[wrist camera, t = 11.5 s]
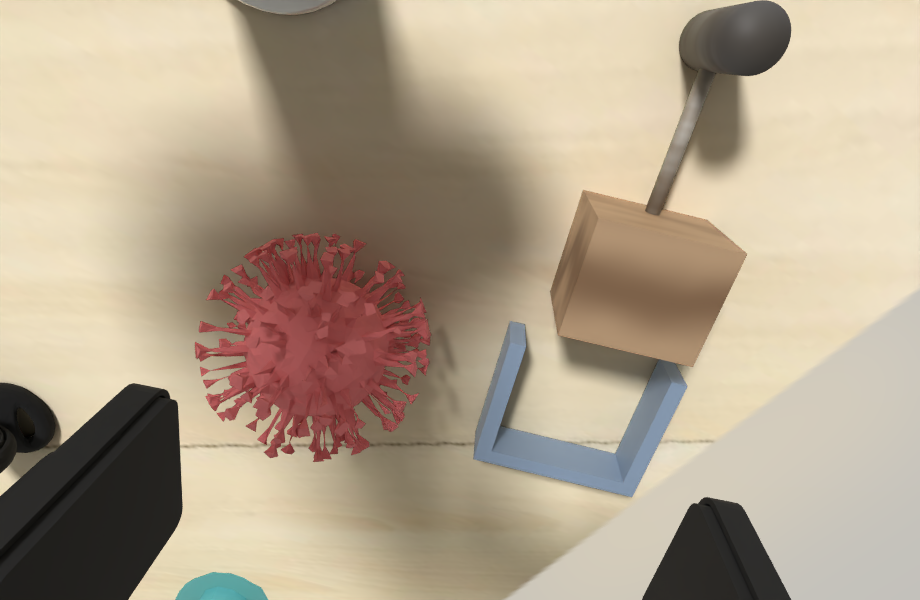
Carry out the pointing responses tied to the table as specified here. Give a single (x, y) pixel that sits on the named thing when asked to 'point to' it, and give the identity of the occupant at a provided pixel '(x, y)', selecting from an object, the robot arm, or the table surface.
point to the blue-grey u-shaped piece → (570, 458)
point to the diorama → (220, 588)
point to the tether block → (664, 220)
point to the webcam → (3, 430)
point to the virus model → (315, 344)
